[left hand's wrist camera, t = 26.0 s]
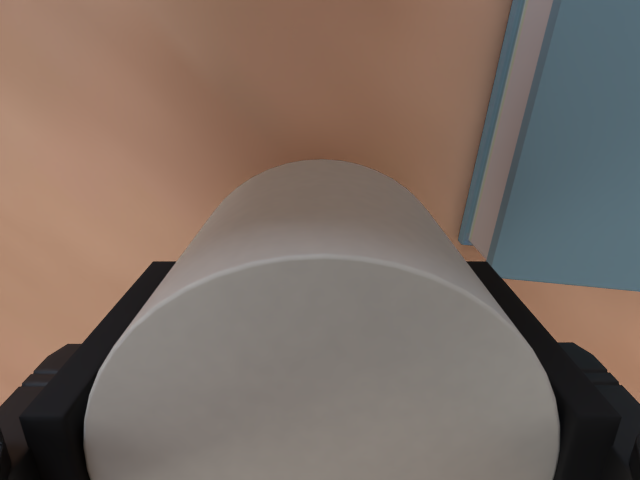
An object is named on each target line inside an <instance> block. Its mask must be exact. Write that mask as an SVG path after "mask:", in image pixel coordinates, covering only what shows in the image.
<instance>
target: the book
mask: <svg viewBox="0 0 640 480" xmlns="http://www.w3.org/2000/svg"><path fill="white" fill-rule="evenodd" d="M458 241H459V242H460V243H461V244H462V245H472V246H474V247H475V248H476V249H477V250H478V251H479V252H480V253H481V254H482V255H483V257H484V258H485V259H486V262H488V263H489V264H490V265H491V267H492V268H493V269H494V270H495V271H496V272H497V274H498V275H499V276H500V277H501V278H504V279H515V280H525V281H535V282H546V283H556V284H566V285H577V286H587V287H597V288H608V289H618V290H629V291H639V292H640V0H513V2H512V6H511V10H510V15H509V19H508V24H507V28H506V32H505V37H504V41H503V45H502V50H501V54H500V59H499V63H498V67H497V72H496V76H495V80H494V85H493V89H492V94H491V98H490V102H489V107H488V111H487V115H486V120H485V124H484V128H483V133H482V137H481V142H480V146H479V150H478V155H477V159H476V163H475V168H474V172H473V177H472V181H471V185H470V190H469V194H468V198H467V203H466V207H465V212H464V216H463V220H462V225H461V229H460V233H459V238H458Z"/></svg>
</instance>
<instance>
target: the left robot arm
mask: <svg viewBox="0 0 640 480" xmlns="http://www.w3.org/2000/svg"><path fill="white" fill-rule="evenodd" d="M175 263H176V262H152V264H151V265H150V266H149V267H148V268H147V269H146V270H145V272H144V273H143V274H142V275H141V276H140V277H139V279H138V280H137V281H136V282H135V283H134V284H133V285H132V287H131V288H130V289H129V290H128V291H127V292H126V294H125V295H124V296H123V297H122V298H121V299H120V300H119V302H118V303H117V304H116V305H115V306H114V307H113V309H112V310H111V311H110V312H109V313H108V314H107V315H106V317H105V318H104V319H103V320H102V321H101V322H100V324H99V325H98V326H97V327H96V328H95V329H94V330H93V332H92V333H91V334H90V335H89V336H88V337H87V339H86V340H85V341H84V342H83V343H82V344H67V345H65V346H64V347H62V348H61V349H59V350H57V351H56V352H54V353H52V354H51V355H49V356H48V357H47V358H46V359H45V360H44V361H43V362H42V363H41V364H40V365H39V366H38V367H37V368H36V369H35V370H34V373H33V374H31V375H30V376H29V377H28V378H27V379H26V380H25V381H24V382H23V383H22V386H21V387H18V388H17V389H16V390H15V391H14V393H13V394H12V395H11V396H10V397H9V398H8V399H7V400H6V401H5V402H4V403H3V404H2V405H1V406H0V480H90V477H89V474H88V471H87V466H86V459H85V453H84V418H85V413H86V408H87V404H88V399H89V394H90V392H91V389H92V386H93V384H94V381H95V379H96V376H97V374H98V371H99V369H100V368H101V366H102V364H103V363H104V361H105V359H106V358H107V356H108V354H109V353H110V351H111V349H112V348H113V346H114V345H115V344H116V342H117V341H118V339H119V338H120V337H121V335H122V334H123V333H124V331H125V330H126V329H127V327H128V326H129V325H130V323H131V322H132V321H133V319H134V318H135V317H136V315H137V314H138V313H139V311H140V310H141V309H142V307H143V306H144V305H145V303H146V302H147V301H148V299H149V298H150V297H151V295H152V294H153V292H154V291H155V290H156V288H157V287H158V286H159V284H160V283H161V282H162V280H163V279H164V278H165V276H166V275H167V274H168V272H169V271H170V270H171V268H172V267H173V266H174V264H175ZM467 263H468V265H469V266H470V267H471V269H472V270H473V271H474V273H475V274H476V275H477V277H478V278H479V279H480V281H481V282H482V283H483V284H484V286H485V287H486V288H487V290H488V291H489V292H490V294H491V295H492V296H493V298H494V299H495V300H496V302H497V303H498V304H499V306H500V307H501V308H502V310H503V311H504V312H505V313H506V315H507V316H508V317H509V319H510V320H511V321H512V323H513V324H514V325H515V327H516V328H517V329H518V331H519V332H520V333H521V335H522V336H523V337H524V339H525V340H526V341H527V342H528V344H529V345H530V346H531V348H532V349H533V351H534V352H535V354H536V356H537V358H538V359H539V361H540V363H541V365H542V366H543V368H544V370H545V372H546V373H547V376H548V379H549V382H550V384H551V387H552V390H553V393H554V395H555V398H556V404H557V410H558V416H559V421H560V452H559V457H558V463H557V467H556V471H555V475H554V479H553V480H640V404H639V403H638V402H637V401H636V400H635V398H634V397H633V396H632V395H631V394H630V393H629V392H628V391H627V390H626V389H625V388H624V387H623V386H622V385H619V382H618V381H617V380H616V379H615V377H614V376H613V375H612V374H611V373H608V372H607V369H606V368H605V367H604V366H603V365H602V364H601V363H600V362H599V361H598V360H597V359H596V358H595V357H594V355H592V354H591V353H589V352H587V351H586V350H584V349H582V348H581V347H579V346H578V345H576V344H574V343H557V342H556V340H555V339H554V338H553V337H552V336H551V335H550V334H549V332H548V331H547V330H546V329H545V328H544V327H543V325H542V324H541V323H540V322H539V321H538V320H537V319H536V317H535V316H534V315H533V314H532V313H531V312H530V310H529V309H528V308H527V307H526V306H525V305H524V304H523V302H522V301H521V300H520V299H519V298H518V297H517V295H516V294H515V293H514V292H513V291H512V290H511V289H510V287H509V286H508V285H507V284H506V283H505V282H504V280H503V279H502V278H501V277H500V276H499V275H498V274H497V272H496V271H495V270H494V269H493V268H492V267H491V265H490V264H489V263H488V262H467Z"/></svg>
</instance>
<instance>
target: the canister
mask: <svg viewBox="0 0 640 480" xmlns="http://www.w3.org/2000/svg"><path fill="white" fill-rule="evenodd" d="M559 452H560V421H559V416H558V410H557V404H556V398H555V395H554V393H553V390H552V387H551V384H550V382H549V379H548V376H547V373H546V372H545V370H544V368H543V366H542V365H541V363H540V361H539V359H538V358H537V356H536V354H535V352H534V351H533V349H532V348H531V346H530V345H529V344H528V342H527V341H526V340H525V339H524V337H523V336H522V335H521V333H520V332H519V331H518V329H517V328H516V327H515V325H514V324H513V323H512V321H511V320H510V319H509V317H508V316H507V315H506V313H505V312H504V311H503V310H502V308H501V307H500V306H499V304H498V303H497V302H496V300H495V299H494V298H493V296H492V295H491V294H490V292H489V291H488V290H487V288H486V287H485V286H484V284H483V283H482V282H481V281H480V279H479V278H478V277H477V275H476V274H475V273H474V271H473V270H472V269H471V267H470V266H469V265H468V263H467V262H466V261H465V259H464V258H463V257H462V255H461V254H460V253H459V252H458V250H457V249H456V248H455V246H454V245H453V244H452V242H451V241H450V240H449V238H448V237H447V236H446V234H445V233H444V232H443V230H442V229H441V228H440V226H439V225H438V224H437V223H436V221H435V220H434V219H433V217H432V216H431V215H430V213H429V212H428V211H427V210H426V208H425V207H424V206H423V205H422V203H421V202H420V201H419V200H418V199H417V198H416V197H415V196H414V195H413V194H412V193H411V192H410V191H408V190H407V189H406V188H405V187H403V186H402V185H401V184H399V183H398V182H396V181H395V180H393V179H392V178H390V177H388V176H386V175H384V174H382V173H380V172H378V171H376V170H374V169H371V168H368V167H365V166H362V165H359V164H355V163H350V162H345V161H340V160H327V159H317V160H302V161H297V162H292V163H287V164H283V165H280V166H277V167H274V168H271V169H268V170H266V171H264V172H262V173H260V174H258V175H256V176H254V177H252V178H250V179H249V180H247V181H246V182H244V183H243V184H241V185H240V186H238V187H237V188H236V189H235V190H234V191H233V192H232V193H230V194H229V195H228V196H227V197H226V198H225V199H224V200H223V201H222V202H221V204H220V205H219V206H218V207H217V208H216V209H215V211H214V212H213V213H212V215H211V216H210V217H209V219H208V220H207V221H206V223H205V224H204V225H203V227H202V228H201V229H200V231H199V232H198V233H197V235H196V236H195V237H194V239H193V240H192V241H191V243H190V244H189V246H188V247H187V248H186V250H185V251H184V252H183V254H182V255H181V256H180V258H179V259H178V260H177V262H176V263H175V264H174V266H173V267H172V268H171V270H170V271H169V272H168V274H167V275H166V276H165V278H164V279H163V280H162V282H161V283H160V284H159V286H158V287H157V288H156V290H155V291H154V292H153V294H152V295H151V297H150V298H149V299H148V301H147V302H146V303H145V305H144V306H143V307H142V309H141V310H140V311H139V313H138V314H137V315H136V317H135V318H134V319H133V321H132V322H131V323H130V325H129V326H128V327H127V329H126V330H125V331H124V333H123V334H122V335H121V337H120V338H119V339H118V341H117V342H116V344H115V345H114V346H113V348H112V349H111V351H110V353H109V354H108V356H107V358H106V359H105V361H104V363H103V364H102V366H101V368H100V369H99V371H98V374H97V376H96V379H95V381H94V384H93V386H92V389H91V392H90V394H89V399H88V404H87V408H86V413H85V418H84V453H85V459H86V466H87V471H88V474H89V477H90V480H553V479H554V475H555V471H556V467H557V463H558V457H559Z"/></svg>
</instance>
